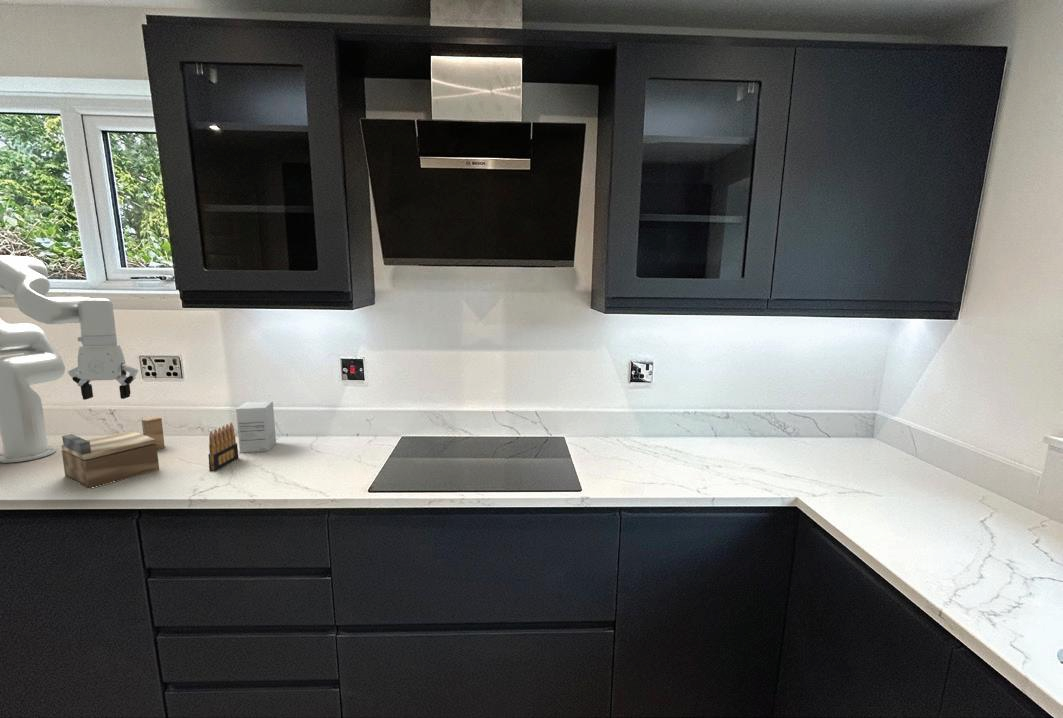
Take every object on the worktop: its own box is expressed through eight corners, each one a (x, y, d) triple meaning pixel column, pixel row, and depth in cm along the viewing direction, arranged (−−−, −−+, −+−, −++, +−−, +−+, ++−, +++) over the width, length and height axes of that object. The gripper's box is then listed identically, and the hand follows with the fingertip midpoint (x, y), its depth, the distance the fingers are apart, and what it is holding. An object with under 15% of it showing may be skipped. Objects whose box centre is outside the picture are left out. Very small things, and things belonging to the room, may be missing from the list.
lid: (61, 449, 132) (59, 435, 131) (131, 434, 146) (130, 421, 145) (84, 460, 125) (82, 444, 124) (155, 443, 138) (154, 429, 138)
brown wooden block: (144, 448, 156) (141, 419, 155) (159, 445, 160) (156, 416, 158) (150, 450, 154) (146, 421, 153) (164, 447, 158) (161, 418, 156)
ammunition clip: (233, 458, 149) (230, 421, 147) (238, 458, 149) (235, 421, 147) (209, 471, 139) (205, 432, 137) (215, 471, 139) (211, 432, 137)
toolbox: (65, 476, 133) (61, 450, 132) (134, 458, 147) (131, 435, 146) (89, 489, 126) (85, 461, 124) (159, 469, 139) (156, 444, 138)
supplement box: (247, 444, 162) (244, 401, 160) (276, 442, 164) (273, 400, 162) (238, 453, 153) (235, 408, 151) (269, 451, 156) (266, 407, 153)
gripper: (54, 342, 132) (63, 402, 135) (125, 342, 135) (131, 400, 138) (75, 339, 140) (82, 395, 142) (141, 339, 143) (147, 394, 145)
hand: (106, 398), depth 140 cm, fingers open, 9 cm apart
